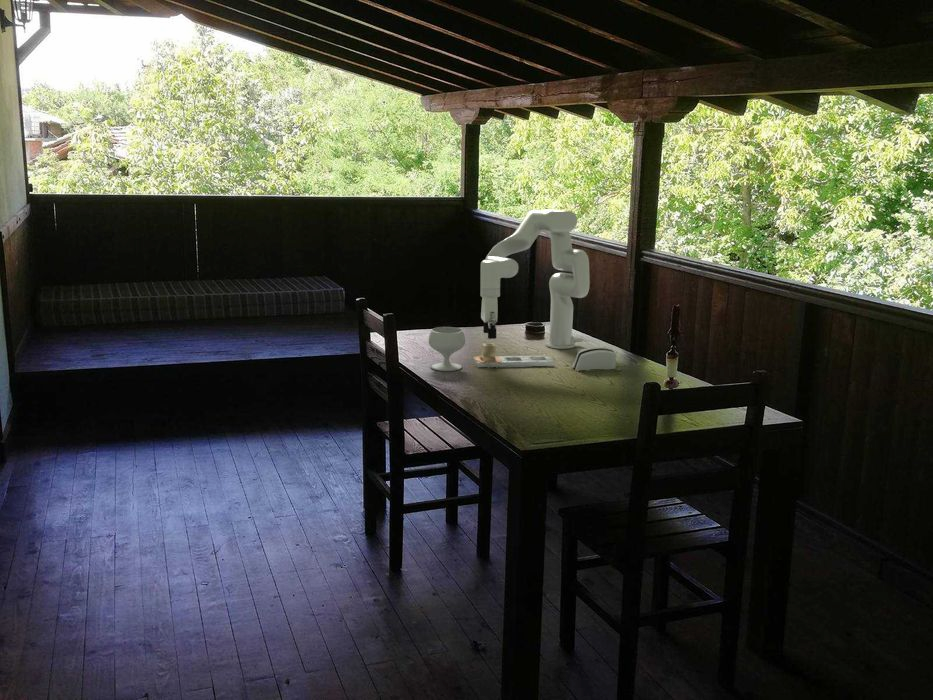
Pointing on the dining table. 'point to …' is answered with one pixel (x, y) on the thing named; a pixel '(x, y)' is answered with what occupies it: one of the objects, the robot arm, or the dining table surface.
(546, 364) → the rail
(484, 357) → the peg
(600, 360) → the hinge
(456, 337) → the chalice
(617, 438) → the dining table surface
